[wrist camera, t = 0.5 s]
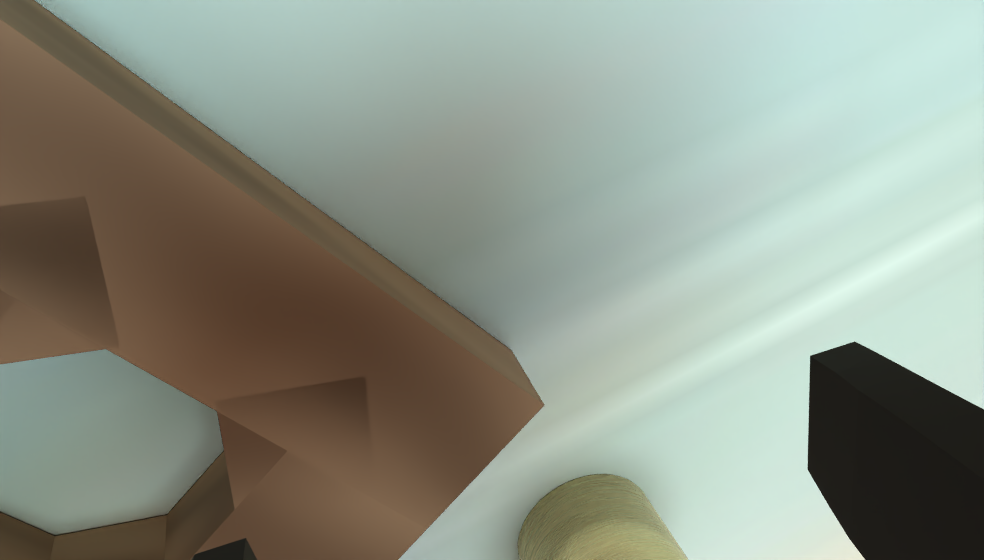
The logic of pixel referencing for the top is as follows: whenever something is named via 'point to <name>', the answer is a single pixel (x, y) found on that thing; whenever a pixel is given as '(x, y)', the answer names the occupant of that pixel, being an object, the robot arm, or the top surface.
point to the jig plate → (231, 320)
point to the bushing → (596, 524)
